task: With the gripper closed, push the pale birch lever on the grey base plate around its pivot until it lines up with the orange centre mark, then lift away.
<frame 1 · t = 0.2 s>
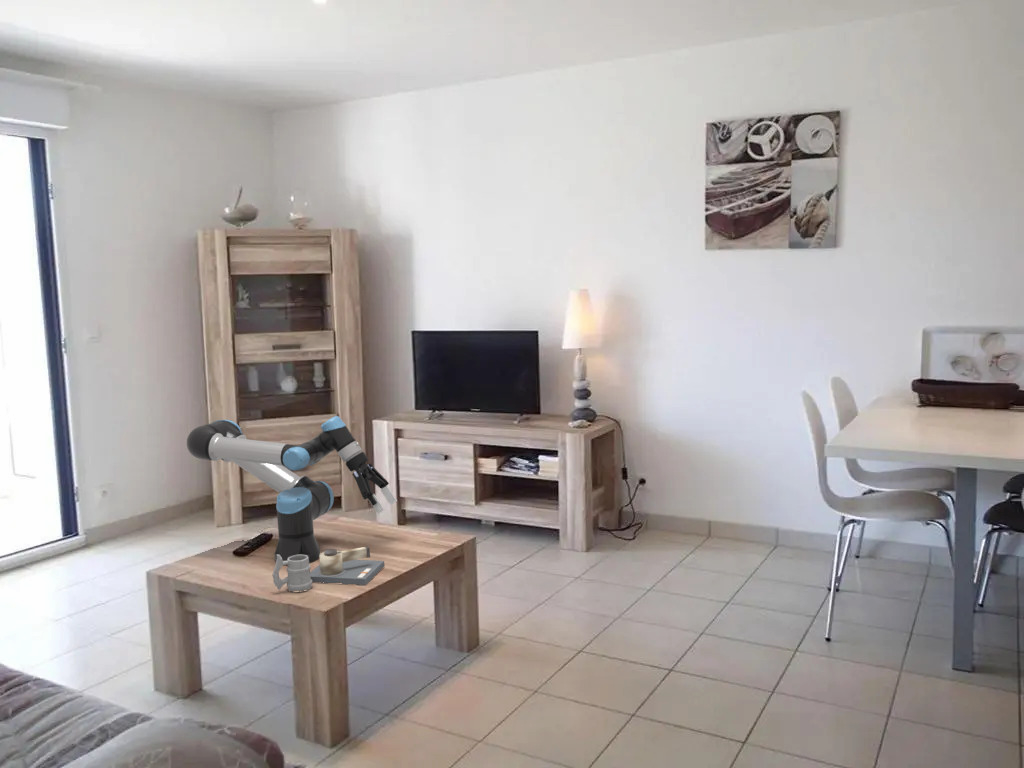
hand: (387, 507, 295), 15 cm above the table, tool tilted 35°, fingers open, 13 cm apart
lever: (344, 558, 271), point 6 cm above the table, hinge at 40.0°
mug: (293, 590, 261), on the table
grey base plate: (345, 574, 273), on the table
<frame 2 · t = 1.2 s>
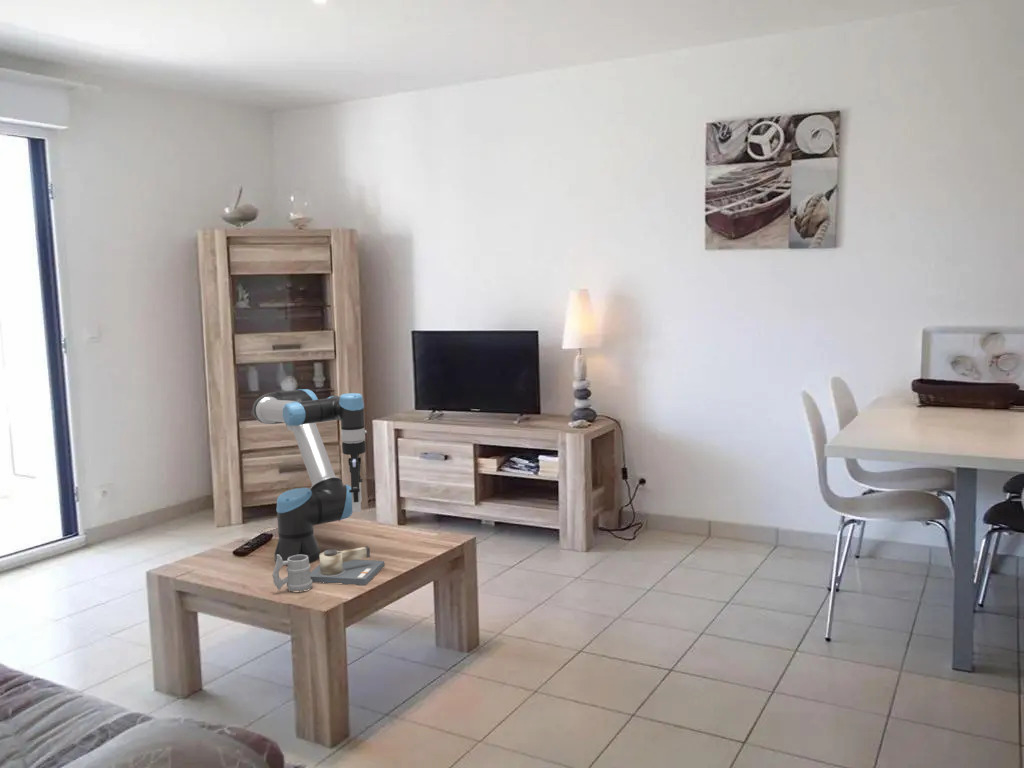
hand: (357, 506, 279), 20 cm above the table, tool pointing down, fingers open, 11 cm apart
nothing on the table moved.
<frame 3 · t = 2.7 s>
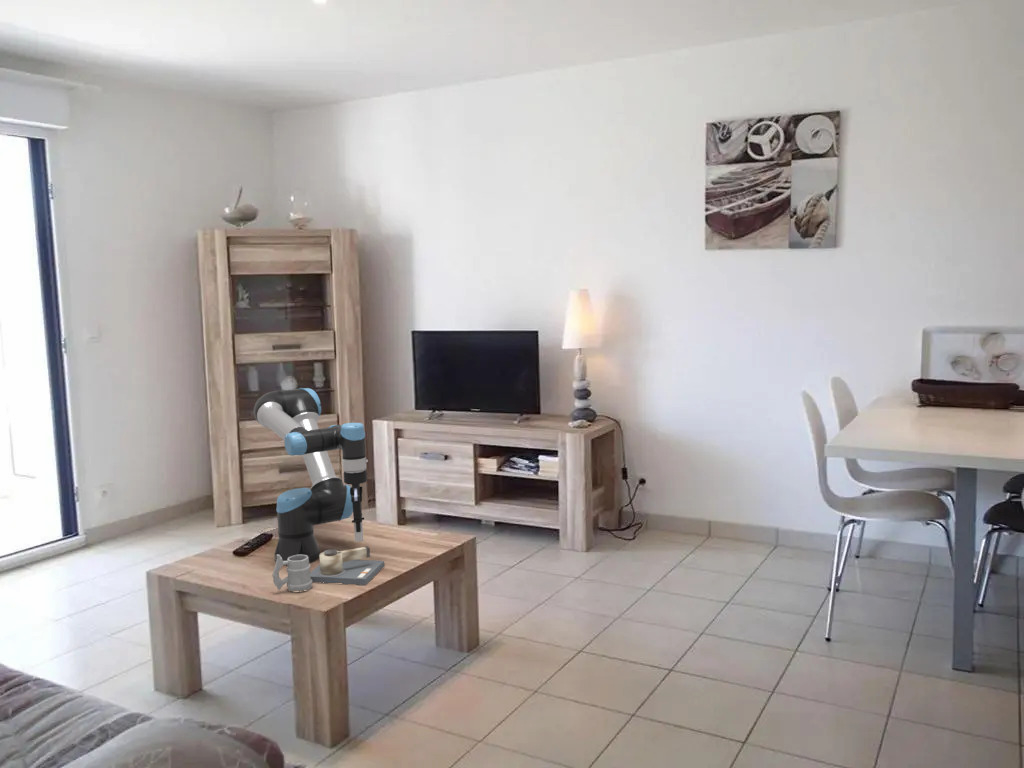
hand: (359, 540, 279), 9 cm above the table, tool pointing down, fingers closed
nothing on the table moved.
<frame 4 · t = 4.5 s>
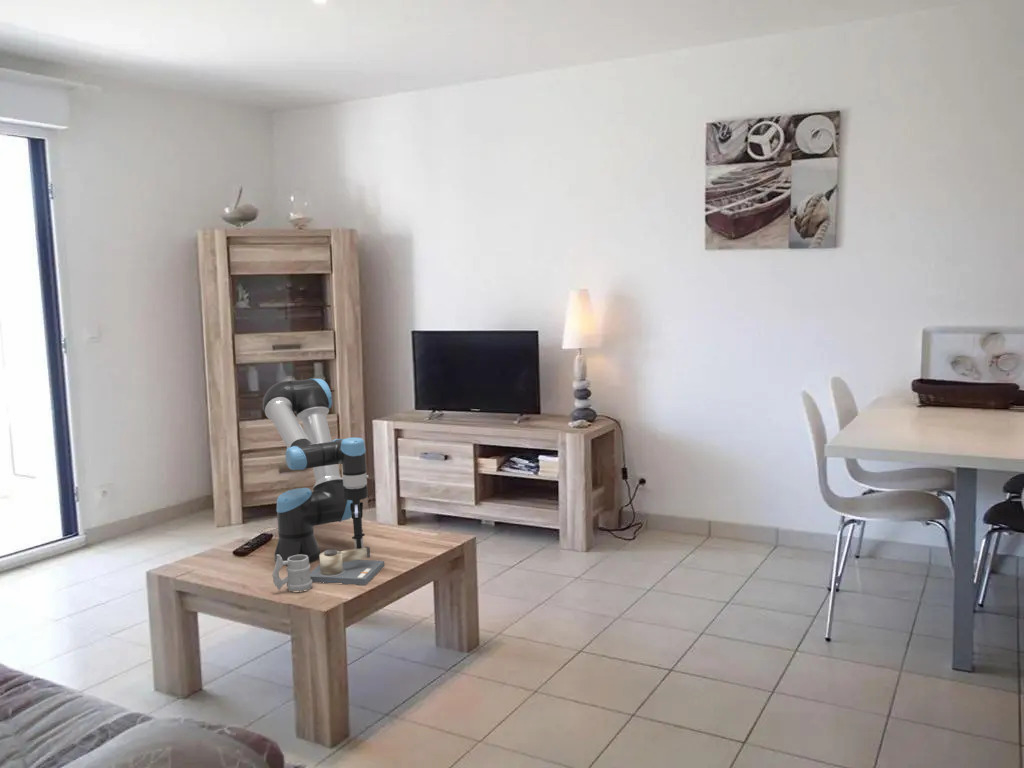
hand: (359, 556, 275), 5 cm above the table, tool pointing down, fingers closed
lever: (345, 558, 271), point 6 cm above the table, hinge at 38.1°, touching gripper
everything else where it was.
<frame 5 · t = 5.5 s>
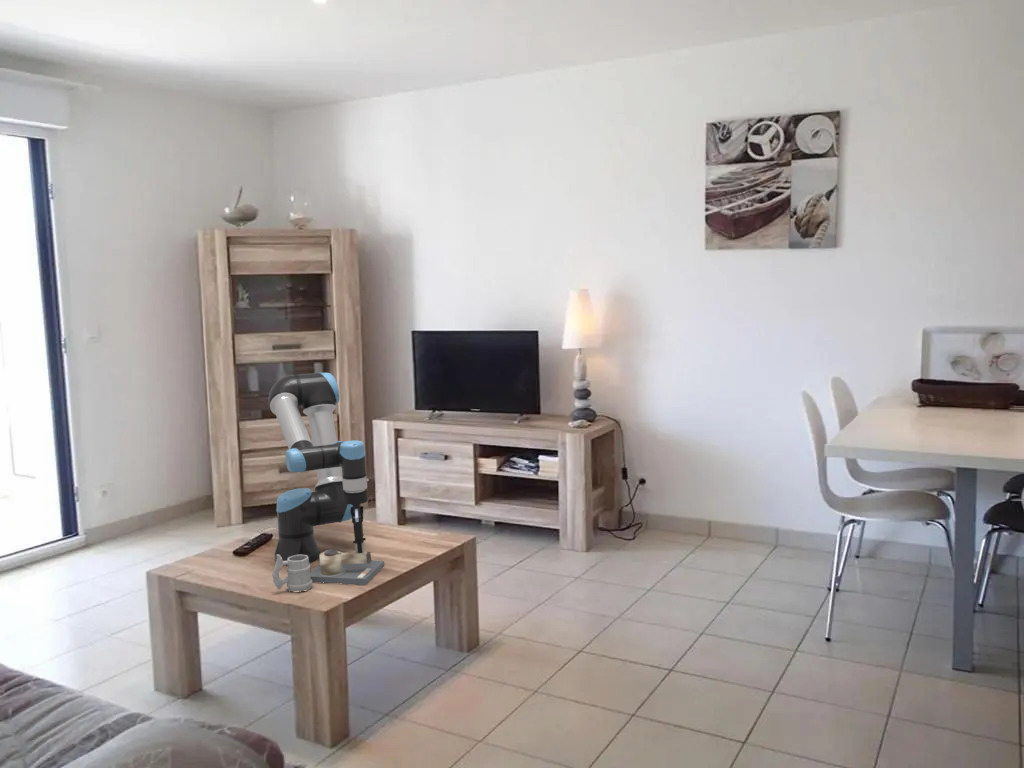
hand: (360, 561, 271), 5 cm above the table, tool pointing down, fingers closed
lever: (345, 560, 269), point 6 cm above the table, hinge at 11.5°, touching gripper
everything else where it was.
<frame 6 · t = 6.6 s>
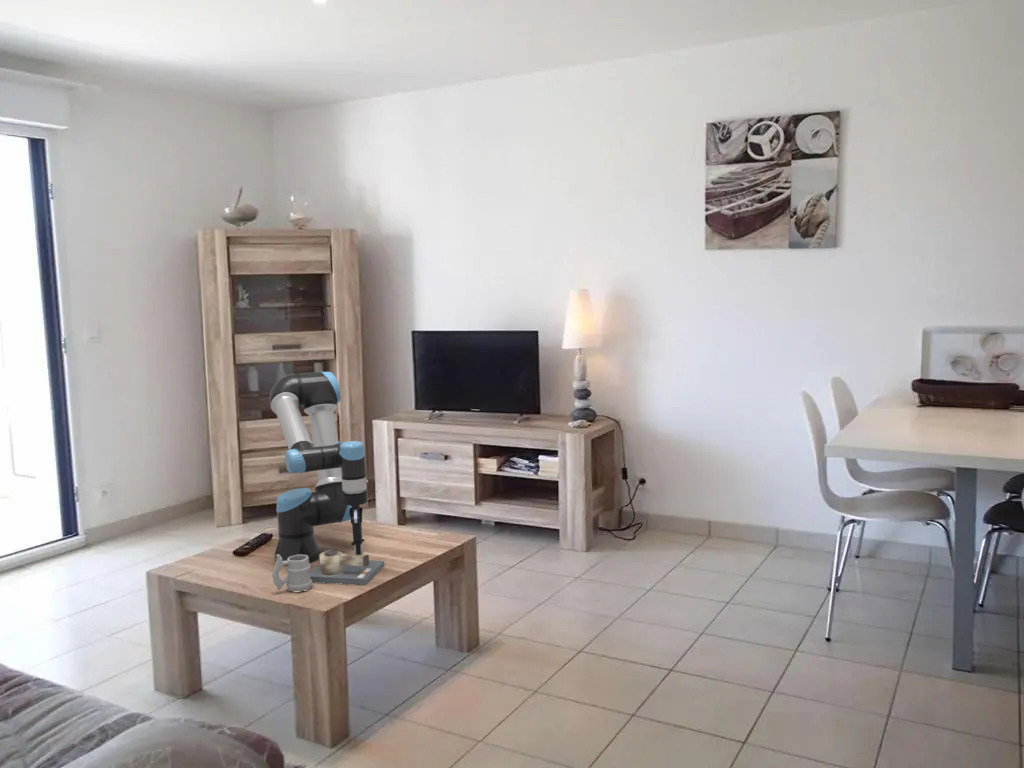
hand: (359, 563, 269), 5 cm above the table, tool pointing down, fingers closed
lever: (344, 562, 268), point 6 cm above the table, hinge at -2.4°, touching gripper
everything else where it was.
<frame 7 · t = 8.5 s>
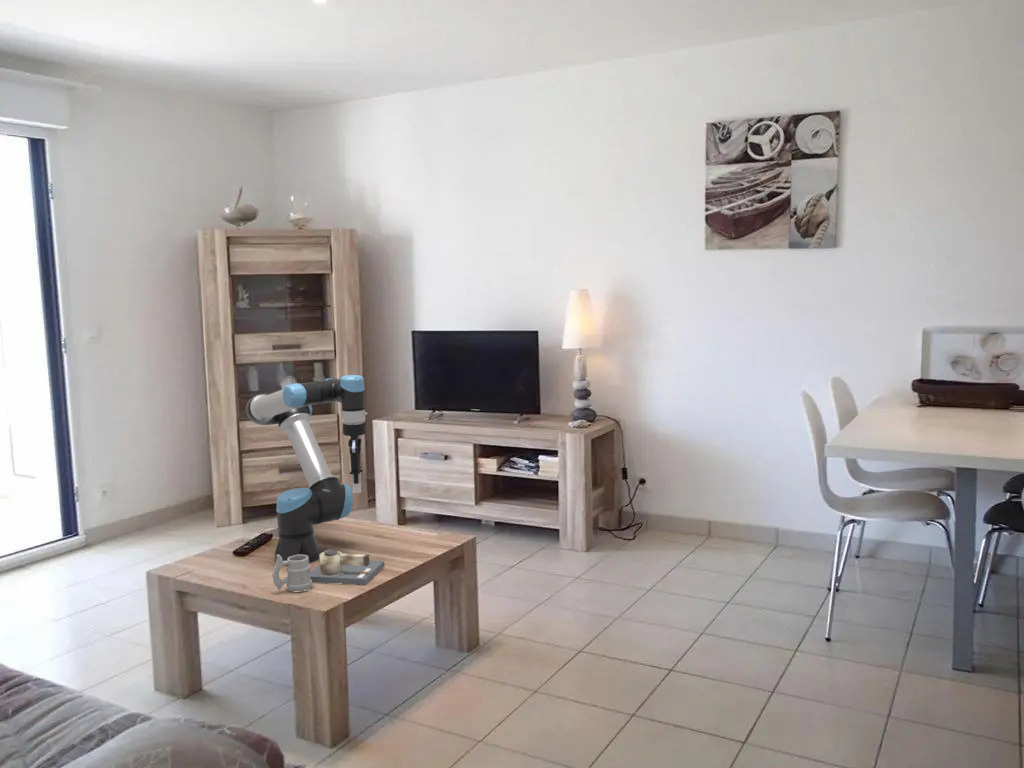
hand: (357, 492, 282), 24 cm above the table, tool pointing down, fingers closed
lever: (344, 561, 268), point 6 cm above the table, hinge at -0.9°
everything else where it was.
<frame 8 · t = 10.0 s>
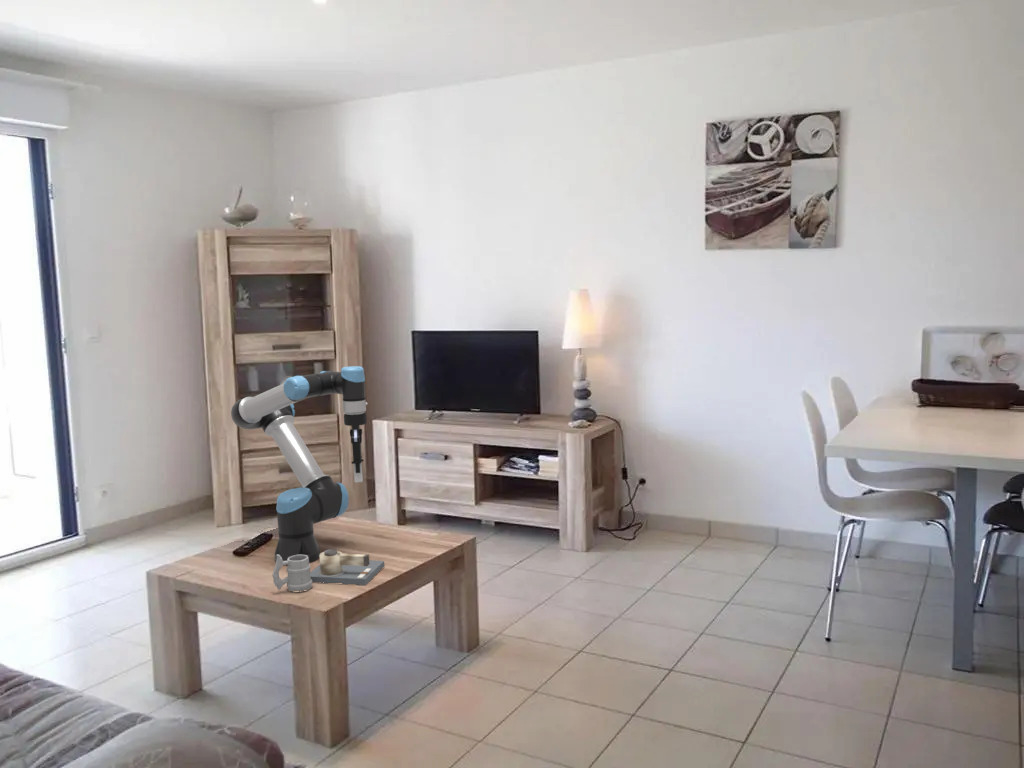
hand: (358, 481, 286), 26 cm above the table, tool pointing down, fingers closed
nothing on the table moved.
at the end: lever at -1° (first picture: +40°); mug moved 0.2 cm from its start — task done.
